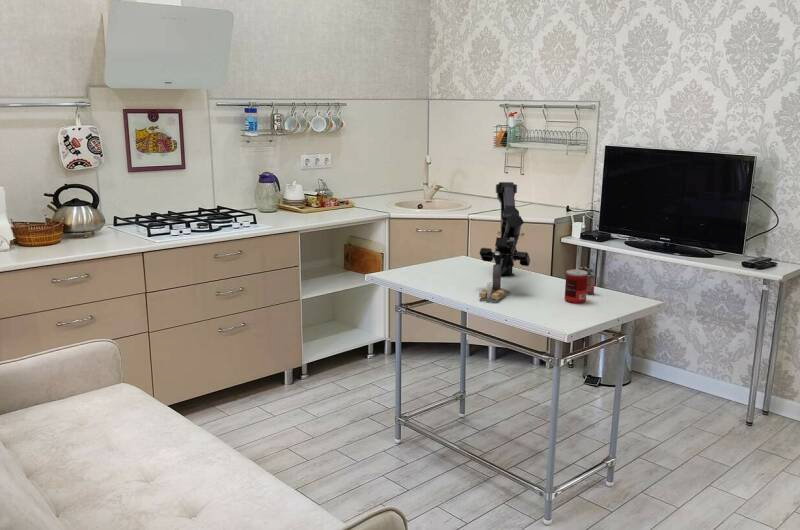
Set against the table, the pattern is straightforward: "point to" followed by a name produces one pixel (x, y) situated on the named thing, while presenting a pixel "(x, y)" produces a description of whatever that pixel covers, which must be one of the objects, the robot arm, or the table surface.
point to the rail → (488, 298)
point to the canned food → (576, 286)
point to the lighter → (589, 280)
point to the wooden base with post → (495, 285)
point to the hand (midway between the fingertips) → (498, 275)
